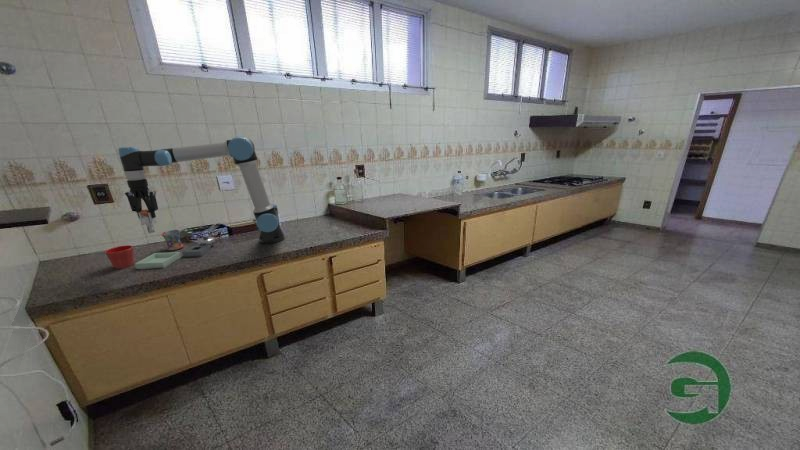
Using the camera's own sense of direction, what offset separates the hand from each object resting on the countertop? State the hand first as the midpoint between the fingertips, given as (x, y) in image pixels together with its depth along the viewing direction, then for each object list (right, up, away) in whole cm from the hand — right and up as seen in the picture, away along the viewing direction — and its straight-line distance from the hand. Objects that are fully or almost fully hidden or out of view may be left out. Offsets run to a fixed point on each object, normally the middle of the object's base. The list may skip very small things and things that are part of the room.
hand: (149, 223), depth 155 cm
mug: (-7, -15, +27) cm, 32 cm away
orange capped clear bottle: (0, -4, +1) cm, 5 cm away
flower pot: (-16, -22, +4) cm, 28 cm away
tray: (0, -21, +6) cm, 22 cm away
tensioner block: (+13, -16, +23) cm, 30 cm away
